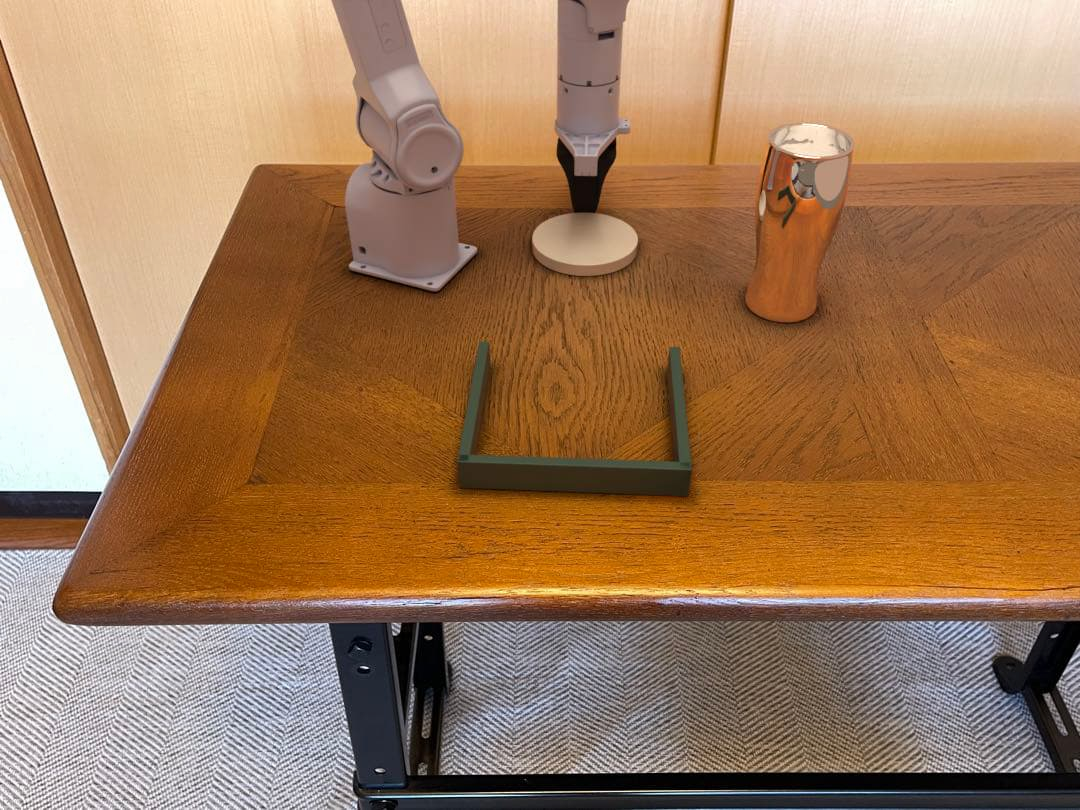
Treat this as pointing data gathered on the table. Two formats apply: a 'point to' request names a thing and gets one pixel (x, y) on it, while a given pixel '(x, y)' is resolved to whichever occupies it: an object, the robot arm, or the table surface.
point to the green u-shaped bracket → (575, 470)
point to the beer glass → (797, 216)
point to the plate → (584, 244)
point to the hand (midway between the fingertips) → (584, 211)
